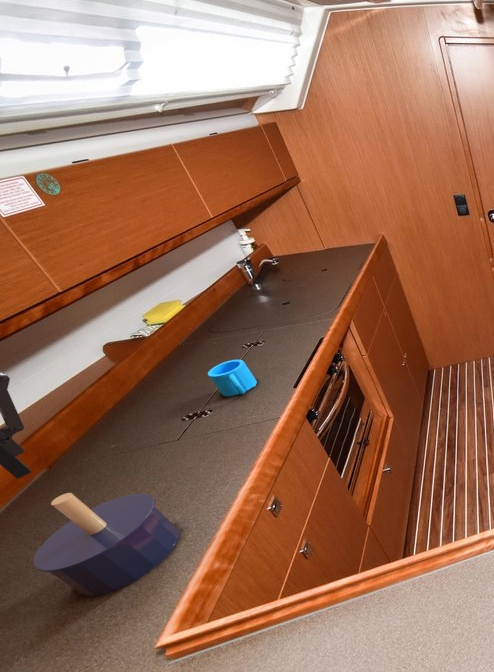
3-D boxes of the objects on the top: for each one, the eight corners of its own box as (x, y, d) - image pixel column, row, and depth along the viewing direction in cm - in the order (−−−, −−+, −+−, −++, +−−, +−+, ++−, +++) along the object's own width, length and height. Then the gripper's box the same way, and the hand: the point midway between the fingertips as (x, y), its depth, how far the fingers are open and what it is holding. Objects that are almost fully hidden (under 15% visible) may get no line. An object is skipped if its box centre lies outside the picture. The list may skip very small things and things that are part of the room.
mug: (220, 390, 125) (205, 369, 121) (253, 376, 130) (240, 356, 126) (229, 406, 118) (213, 385, 114) (263, 391, 124) (250, 370, 120)
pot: (68, 575, 78) (29, 548, 73) (163, 516, 89) (134, 488, 84) (94, 610, 73) (55, 582, 68) (192, 542, 83) (163, 514, 79)
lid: (26, 551, 73) (-21, 517, 68) (140, 486, 85) (106, 453, 80) (54, 589, 68) (4, 556, 63) (171, 514, 79) (137, 481, 74)
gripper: (-209, 396, 49) (-40, 514, 61) (-25, 341, 59) (89, 451, 71) (-215, 379, 52) (-52, 495, 64) (-38, 329, 62) (73, 437, 74)
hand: (22, 472), depth 67 cm, fingers closed
